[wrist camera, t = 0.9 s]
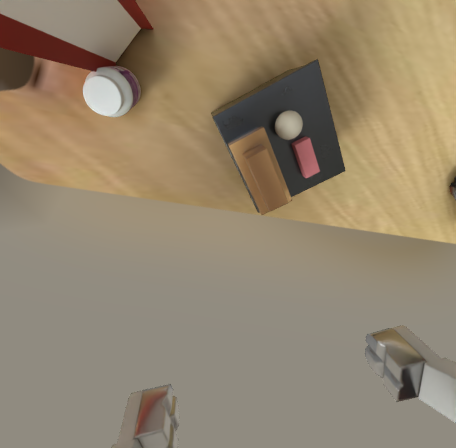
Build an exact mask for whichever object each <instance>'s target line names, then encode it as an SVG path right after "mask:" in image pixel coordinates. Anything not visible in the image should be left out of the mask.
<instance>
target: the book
mask: <svg viewBox="0 0 456 448" xmlns="http://www.w3.org/2000/svg"><path fill="white" fill-rule="evenodd" d="M140 29H153V28H152V26H151V25H150V23H149V21H148V20H147V18H146V17H145V15H144V14H143V12H142V11H141V9H140V8H139V6H138V5H137V3H136V2H135V0H0V48H4V49H8V50H12V51H16V52H19V53H24V54H27V55H31V56H35V57H39V58H43V59H47V60H51V61H55V62H59V63H63V64H67V65H71V66H75V67H79V68H83V69H87V70H91V71H95V72H96V71H97V68H99V67H108V66H116V61H117V60H118V59H119V57H120V56H121V55H122V53H123V52H124V51H125V49H126V48H127V47H128V45H129V44H130V43H131V41H132V40H133V38H134V37H135V36H136V34H137V33H138V32H139V30H140Z"/></svg>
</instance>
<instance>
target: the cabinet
mask: <svg viewBox="0 0 456 448" xmlns="http://www.w3.org/2000/svg"><path fill="white" fill-rule="evenodd" d="M285 111H295V112H297V113H298V114H299V115H300V116H301V118H302V121H303V127H302V130H301V132H300V133H299V135H298V136H296V137H295V138H293V139H290V140H285V139H282V138H280V137H279V136H278V135H277V133H276V131H275V122H276V119H277V118H278V116H279V115H280V114H281V113H283V112H285ZM211 114H212V116H213V119H214V121H215V124H216V126H217V128H218V130H219V132H220V134H221V136H222V138H223V140H224V142H225V144H226V146H227V149H228V151H229V153H230V155H231V157H232V159H233V161H234V163H235V165H236V167H237V169H238V171H239V174H240V176H241V178H242V180H243V182H244V184H245V186H246V188H247V190H248V192H249V194H250V197H251V199H252V201H253V203H254V205H255V207H256V209H257V211H258V213H259V212H260V211H259V209H258V207H257V205H256V203H255V201H254V199H253V196H252V194H251V192H250V190H249V188H248V186H247V184H246V182H245V180H244V178H243V175H242V173H241V171H240V169H239V167H238V165H237V163H236V161H235V159H234V156H233V154H232V152H231V150H230V148H229V146H228V144H229V143H228V142H229V141H231V140H233V139H235V138H237V137H239V136H240V135H242V134H244V133H246V132H248V131H250V130H252V129H254V128H255V127H258V128H259V127H261V126H262V127H264V129H265V131H266V134H267V136H268V139H269V142H270V144H271V147H272V149H273V152H274V154H275V157H276V160H277V162H278V165H279V167H280V170H281V173H282V175H283V178H284V180H285V183H286V185H287V188H288V191H289V193H290V196H291V197H292V196H295V195H297V194H299V193H301V192H303V191H305V190H307V189H309V188H311V187H313V186H315V185H317V184H319V183H321V182H323V181H325V180H328V179H330V178H332V177H334V176H336V175H338V174H340V173H342V172H344V171H345V167H344V163H343V159H342V155H341V151H340V147H339V143H338V139H337V135H336V131H335V127H334V123H333V119H332V114H331V110H330V106H329V102H328V98H327V94H326V90H325V86H324V82H323V78H322V74H321V70H320V66H319V62H318V59H316V60H314V61H312V62H310V63H308V64H307V65H305V66H301V67H298V68H295V69H291V70H288V71H286V72H284V73H283V74H281V75H279V76H277V77H275V78H274V79H272V80H270V81H268V82H266V83H265V84H263V85H261V86H259V87H257V88H256V89H254V90H252V91H250V92H248V93H246V94H245V95H243V96H241V97H239V98H237V99H236V100H234V101H232V102H230V103H228V104H227V105H225V106H223V107H221V108H219V109H218V110H216V111H214V112H212V113H211ZM305 136H306V137H309V138H310V140H311V143H312V147H313V150H314V153H315V157H316V160H317V163H318V166H319V170H320V172H318V173H316V174H314V175H312V176H310V177H308V178H305V177H304V176H302V173H301V170H300V167H299V165H298V162H297V159H296V156H295V153H294V150H293V147H292V143H293V142H295V141H297V140H299V139H301V138H303V137H305Z"/></svg>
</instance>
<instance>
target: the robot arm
mask: <svg viewBox="0 0 456 448" xmlns="http://www.w3.org/2000/svg"><path fill="white" fill-rule="evenodd" d="M366 342H367V343H368V344H369V345H368V346H367V347H366V349H365V355H366V359H367V362H368V364H369V365H370V367H371V369H372V370H373V371H374V373H375V374H376V375H378V376H380V377H382V378H383V385H384V386H385V387H386V389H387V390H388V391H389V392H390V394H391V395H392V397H393V398H394V399H395V400H396V402H399V401H403V400H407V399H412V398H415V397H419V399H420V400H422V401H423V402H425V403H426V404H428V405H429V406H431V407H432V408H434V409H435V410H437V411H438V412H440V413H441V414H443V415H444V416H446V417H447V418H449V419H450V420H452V421H453V422H455V423H456V362H454V361H451V360H449V359H447V358H442V359H441V358H440V357H439V356H438V355H437V354H436V353H435V352H433V350H431V349H430V348H429V347H428V346H427V345H426V344H425V343H424V342H423V341H422V340H420V339H419V338H418V337H417V336H416V335H415V334H414V333H413V332H412V331H410V330H409V329H408V328H407V327H405V326H397V327H394V328H388V329H385V330H381V331H377V332H374V333H370V334H367V336H366ZM178 426H179V405H178V401H177V398H176V397H175V396H173V388H172V386H171V384H169V385H164V386H159V387H155V388H150V389H146V390H142V391H137V392H134V393H131V394H130V396H129V398H128V402H127V406H126V410H125V414H124V419H123V422H122V426H121V431H120V434H119V438H118V442H117V444H114V445H113V446H112V447H111V448H178V437H177V434H176V430H177V428H178Z"/></svg>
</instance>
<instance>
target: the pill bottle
mask: <svg viewBox="0 0 456 448" xmlns="http://www.w3.org/2000/svg"><path fill="white" fill-rule="evenodd" d="M140 94H141V89H140V84H139V82H138V80H137V78H136V77H135V75H134V74H133V73H132V72H131V71H129V70H128V69H126V68H124V67H120V66H108V67H99V68H97V71H96V72H95V71H91V72H90V73H89V74H88V76H87V77H86V80H85V83H84V86H83V96H84V99H85V101H86V103H87V104H88V106H89V107H90V108H91V109H92V110H93V111H95V112H96V113H98V114H101V115H105V116H109V117H119V116H122V115H124V114H126V113H127V112H128V111H129V110H130V109H131V108H132V107H133V106H135V105H136V104H137V102H138V101H139V98H140Z"/></svg>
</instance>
